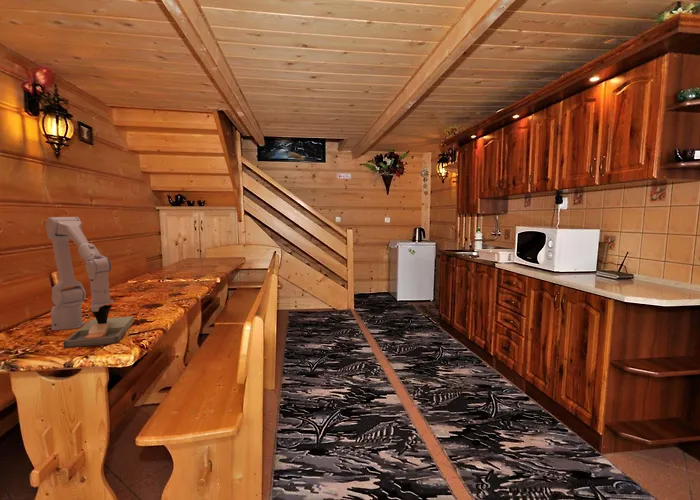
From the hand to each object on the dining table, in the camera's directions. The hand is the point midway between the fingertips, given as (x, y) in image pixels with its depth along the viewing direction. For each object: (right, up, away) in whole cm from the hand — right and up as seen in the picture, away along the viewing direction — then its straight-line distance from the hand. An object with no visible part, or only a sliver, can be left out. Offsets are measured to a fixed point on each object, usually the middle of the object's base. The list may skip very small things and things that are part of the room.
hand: (102, 325), depth 142 cm
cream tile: (+1, -2, -4) cm, 4 cm away
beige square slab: (-2, -3, +5) cm, 6 cm away
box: (+2, -4, -7) cm, 8 cm away
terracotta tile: (+3, -4, -9) cm, 10 cm away
